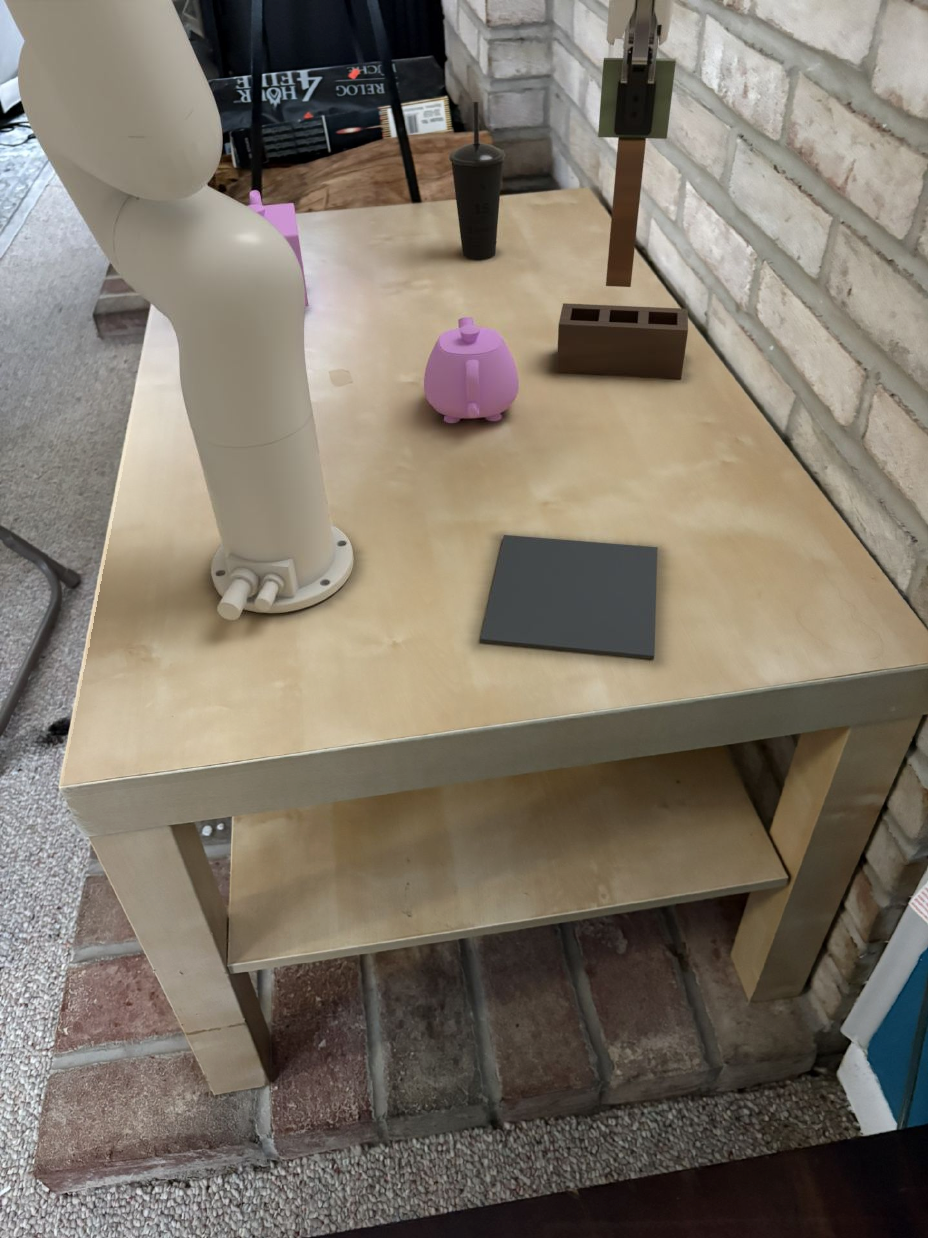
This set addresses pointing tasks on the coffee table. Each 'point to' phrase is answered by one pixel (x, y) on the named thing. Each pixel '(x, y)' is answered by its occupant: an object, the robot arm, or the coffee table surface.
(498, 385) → the teapot
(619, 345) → the rack
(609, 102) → the spatula
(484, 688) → the coffee table surface
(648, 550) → the mat
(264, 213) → the teapot
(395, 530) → the coffee table surface
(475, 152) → the drinking cup
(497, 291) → the coffee table surface
